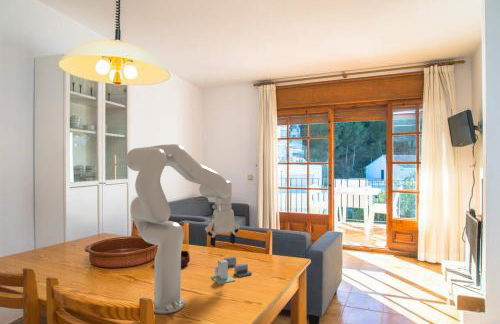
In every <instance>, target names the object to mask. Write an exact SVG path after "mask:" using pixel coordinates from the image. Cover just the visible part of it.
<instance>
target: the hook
mask: <svg viewBox="0 0 500 324" xmlns="http://www.w3.org/2000/svg"><path fill="white" fill-rule="evenodd" d="M228 275H229V267H228V261H226V260H224V259H220V260H217V266H216V265H215V267H214V276H217V277H218V279H219V280H226V279H228Z"/></svg>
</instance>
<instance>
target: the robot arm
mask: <svg viewBox="0 0 500 324" xmlns="http://www.w3.org/2000/svg"><path fill="white" fill-rule="evenodd" d="M125 164H126V166H127V167H128V168H129V169H130V170H132V171H135V172H138V173H137V175H136V180H135V184H134V187H135V192H136V194H137V196H136V197H135V198H134V199H133V200H132V202H131V204H130V208H129V209H130V215H131V218H132V220H133V222H134V225H135V227H136V229H137V232H138V233H139V235H140V237H141V239H143V240H144V242H146V243H147V244H150V245H151V244H152V245H155V246H158V248H157V252H156V253H155V257H154V279H153V281H154V286H153V287H154V295H153V297H154V298H153V300H152V301H153V304H154V312H153V313H155V314H161V315H163V314H171V313H176V312H178V311H181V310H182V309H183V308H184V307H185V299H184V298H183V297H182V296H181V295H182V291H181V289H182V288H181V284H182V283H181V282H182V281H181V280H182V279H181V278H182V277H181V276H182V275H181V274H182V267H181V251H182V247H183V243H184V236H185V232H184V228H183V226H182V225H181V224H179V223H178V222H175V221H172V220H169V219H170V216H171V213H172V212H171V207H170V204H169V202H168V199H167V197H166V194H165V192H164V190H163V188H162V187H163V186H162V183H161V177H162V174H163V171H164V169H165V167H171V168H172V169H173V170H175V171H176V172H177V173H179V175H180V176H181V177H183V178H184V179H185V180H186V181H188V182H191V183H193V184H196V185H199V188H198V189H199V190H198V191H199V194H200V195H201V196H202V197H205V198H209V199H214V201H215V202H214V204H213V205H212V207H211V208H212V209H214V210H213V213H212V219H211V223H210V224H209V225H208V226H205V228H204V230H205V232H206V234H207V235H208V236H209V237H210V238H209V239H210V240H209V241H210V245H211V246H212V247H216V234H226V233H227V234H228V233H230V234H229V235H230V236H229V243H231V244H232V245H235V241H236V235H237V233H238V232H239V230H240V227H241V224H239V223H238V222H236V221H235V215H234V214H235V212H234V210H233V209H232V201H233V200H232V199H233V198H232V196H233V193H232V190H233V189H232V188H233V185H232V182H231V180H227V179H225V178H224V177H223V176H222V175H221V174H220V173H218V172H217V171H216V170H215V171H214V170H213V169H211V168H208V167H207V166H205V165H203V164H201V163H200V162H199V161H198V160H197V159H196V158H195V157H193V156H192V154H190V153H189V152H188V151H187V150H186V149H185V148H184V147H183V146H182V145H180V144H176V143H175V144H174V143H173V144H159V145H153V146H144V147H135V148H132V149H130V150H128V152H127V153H126V156H125ZM210 230H211V231H210Z"/></svg>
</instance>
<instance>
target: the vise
mask: <svg viewBox="0 0 500 324" xmlns="http://www.w3.org/2000/svg"><path fill="white" fill-rule="evenodd" d="M223 260H226V261H228V268H229V267H234V268H233V269H234V272H233V273H234V274H235V276H236V277H238V278H242V277H247V276H248V277H249V276H251V275H252V274H253V273H252V272H251V270H249V269H248V268H249V267H248V266H249V264H247V263H244V262H243V263H240V264H237V256H236V257H235V256H229V257H228V256H227V257H224V258H223Z"/></svg>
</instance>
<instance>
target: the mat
mask: <svg viewBox="0 0 500 324" xmlns="http://www.w3.org/2000/svg"><path fill="white" fill-rule="evenodd" d="M210 278H211V279H212V280H213V281H215V282H216V283H217V284H218V285H222V284H228V283H232V281H233V282H236V280H235V279H234V278H233V277H231V276H230V275H229V274H228V279H226V280H219V279H218V277H217V276H215V275H213V276H210Z"/></svg>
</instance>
